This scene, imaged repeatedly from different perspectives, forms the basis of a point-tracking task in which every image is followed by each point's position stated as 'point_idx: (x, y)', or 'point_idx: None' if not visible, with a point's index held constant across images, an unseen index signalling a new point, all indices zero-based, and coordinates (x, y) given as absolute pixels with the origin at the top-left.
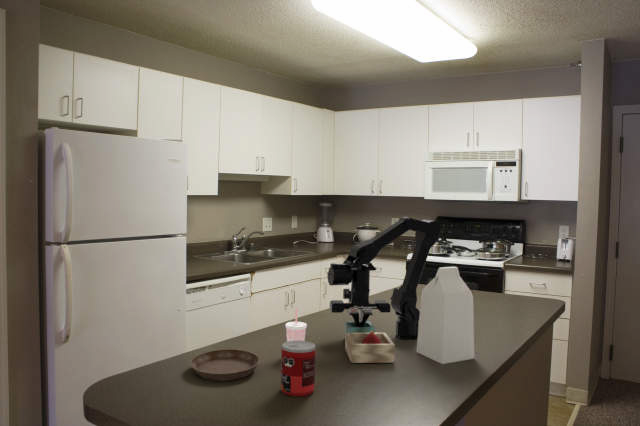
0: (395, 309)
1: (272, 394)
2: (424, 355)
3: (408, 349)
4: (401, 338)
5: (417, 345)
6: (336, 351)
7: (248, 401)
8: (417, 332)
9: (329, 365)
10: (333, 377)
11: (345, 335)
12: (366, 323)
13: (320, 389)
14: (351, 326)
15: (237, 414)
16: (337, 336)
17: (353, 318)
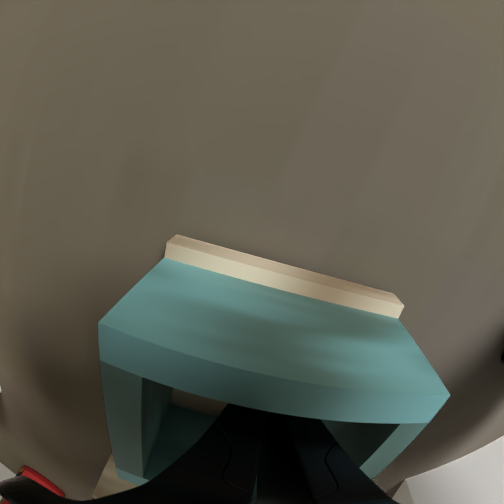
0: None
1: (19, 466)
2: (393, 496)
3: (406, 465)
4: (502, 361)
5: (411, 497)
6: (88, 420)
7: (4, 458)
8: None
9: (75, 468)
10: (89, 494)
11: (97, 486)
12: (385, 415)
13: (73, 497)
14: (141, 469)
15: (9, 467)
16: (130, 180)
17: (181, 468)
